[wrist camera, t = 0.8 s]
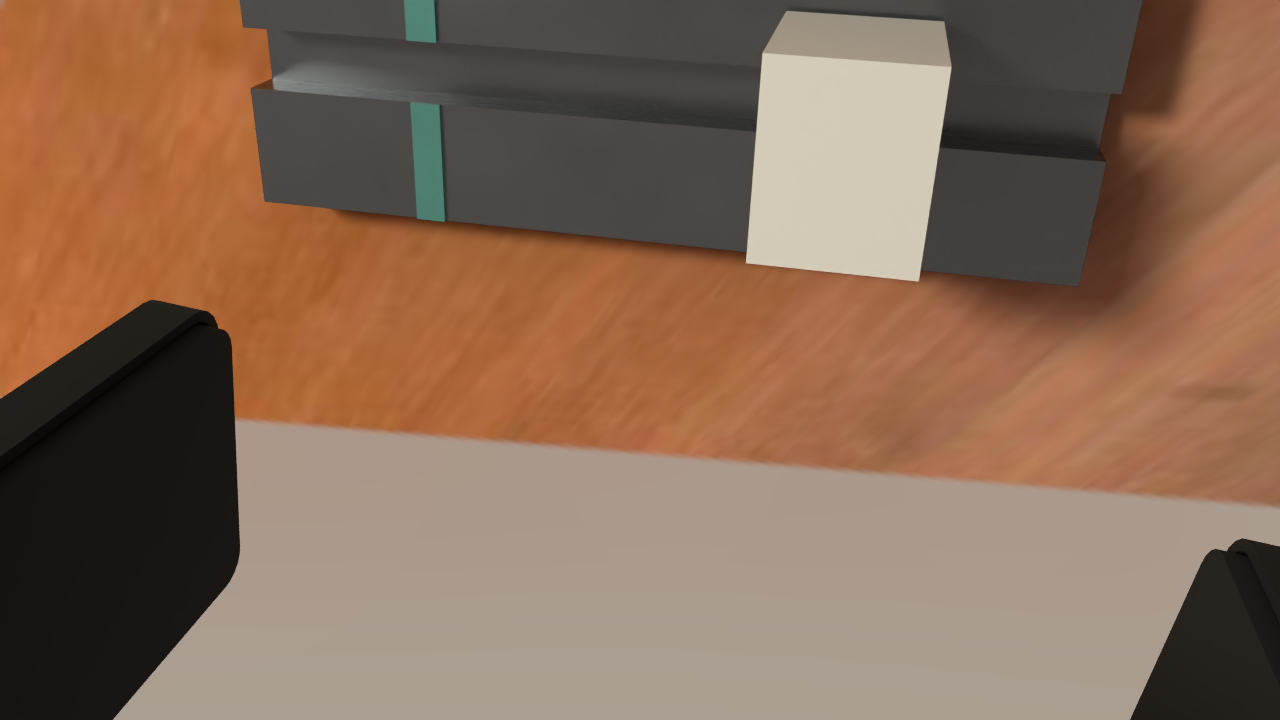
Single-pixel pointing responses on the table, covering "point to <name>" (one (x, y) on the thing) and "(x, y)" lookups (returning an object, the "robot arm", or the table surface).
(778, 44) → the fader tab
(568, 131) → the fader housing
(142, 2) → the table surface
